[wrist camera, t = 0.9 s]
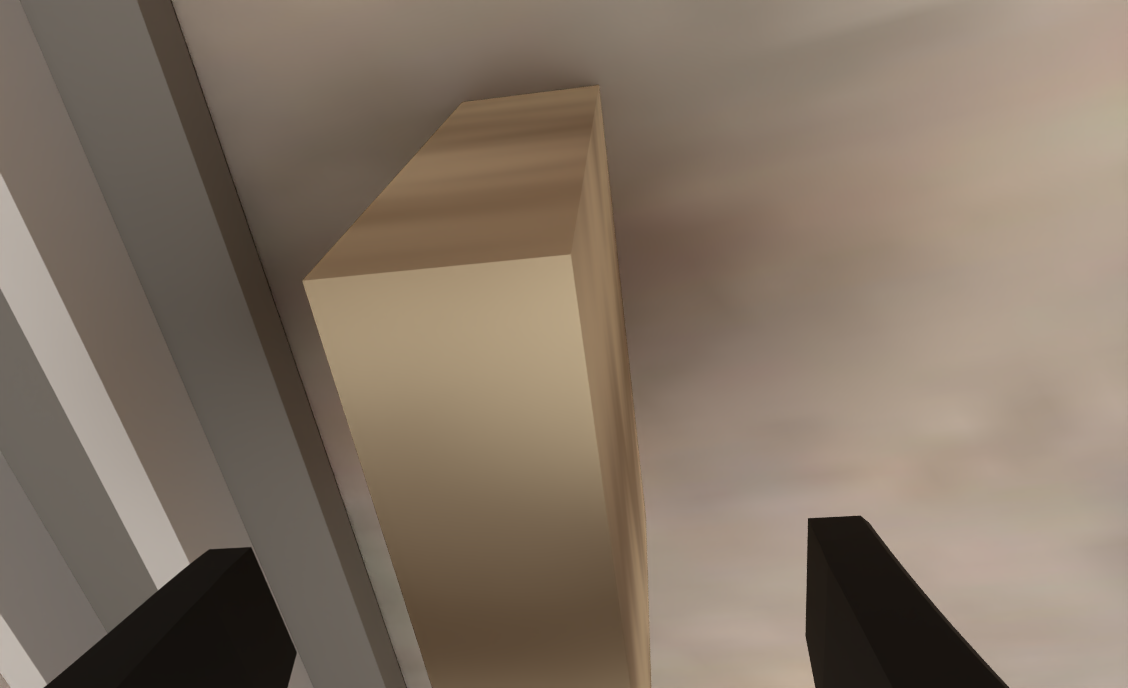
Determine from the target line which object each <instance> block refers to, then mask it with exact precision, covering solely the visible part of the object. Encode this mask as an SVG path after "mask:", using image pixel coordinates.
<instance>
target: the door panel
mask: <svg viewBox="0 0 1128 688" xmlns="http://www.w3.org/2000/svg"><path fill="white" fill-rule="evenodd" d="M302 282H303V285H304V288H305V291H306V294H307V297H308V300H309V304H310V307H311V310H312V313H313V316H314V319H315V322H316V326H317V329H318V332H319V335H320V338H321V341H322V344H323V347H324V351H325V354H326V357H327V360H328V363H329V366H330V369H331V373H332V376H333V379H334V382H335V385H336V388H337V391H338V394H339V398H340V401H341V404H342V407H343V410H344V413H345V416H346V420H347V423H348V426H349V429H350V432H351V435H352V438H353V441H354V445H355V448H356V451H357V454H358V457H359V460H360V463H361V466H362V470H363V473H364V476H365V479H366V482H367V485H368V488H369V492H370V495H371V498H372V501H373V504H374V507H375V510H376V513H377V517H378V520H379V523H380V526H381V529H382V532H383V535H384V539H385V542H386V545H387V548H388V551H389V554H390V557H391V560H392V564H393V567H394V570H395V573H396V576H397V579H398V582H399V586H400V589H401V592H402V595H403V598H404V601H405V604H406V607H407V611H408V614H409V617H410V620H411V623H412V626H413V629H414V633H415V636H416V639H417V642H418V645H419V648H420V651H421V654H422V658H423V661H424V664H425V667H426V670H427V673H428V676H429V680H430V683H431V686H432V688H651V664H650V633H649V601H648V570H647V538H646V514H645V505H644V496H643V486H642V477H641V468H640V459H639V449H638V440H637V431H636V422H635V412H634V403H633V394H632V385H631V375H630V366H629V357H628V348H627V338H626V329H625V320H624V311H623V301H622V292H621V283H620V274H619V264H618V255H617V246H616V237H615V227H614V218H613V209H612V200H611V190H610V181H609V172H608V163H607V153H606V144H605V135H604V126H603V116H602V107H601V98H600V89H599V85H595V86H587V87H579V88H571V89H563V90H555V91H547V92H539V93H531V94H523V95H515V96H507V97H499V98H491V99H483V100H475V101H467V102H462V103H461V104H460V105H459V106H458V108H457V109H456V110H455V111H454V112H453V113H452V114H451V115H450V116H449V118H448V119H447V120H446V121H445V122H444V123H443V124H442V125H441V127H440V128H439V129H438V130H437V131H436V132H435V133H434V134H433V135H432V137H431V138H430V139H429V140H428V141H427V142H426V143H425V144H424V145H423V147H422V148H421V149H420V150H419V151H418V152H417V153H416V154H415V156H414V157H413V158H412V159H411V160H410V161H409V162H408V163H407V164H406V166H405V167H404V168H403V169H402V170H401V171H400V172H399V173H398V174H397V176H396V177H395V178H394V179H393V180H392V181H391V182H390V183H389V185H388V186H387V187H386V188H385V189H384V190H383V191H382V192H381V193H380V195H379V196H378V197H377V198H376V199H375V200H374V201H373V202H372V204H371V205H370V206H369V207H368V208H367V209H366V210H365V211H364V212H363V214H362V215H361V216H360V217H359V218H358V219H357V220H356V221H355V222H354V224H353V225H352V226H351V227H350V228H349V229H348V230H347V231H346V233H345V234H344V235H343V236H342V237H341V238H340V239H339V240H338V241H337V243H336V244H335V245H334V246H333V247H332V248H331V249H330V250H329V251H328V253H327V254H326V255H325V256H324V257H323V258H322V259H321V260H320V262H319V263H318V264H317V265H316V266H315V267H314V268H313V269H312V270H311V272H310V273H309V274H308V275H307V276H306V277H305V278H304V279H303V281H302Z"/></svg>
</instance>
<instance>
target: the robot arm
mask: <svg viewBox="0 0 1128 688" xmlns="http://www.w3.org/2000/svg"><path fill="white" fill-rule="evenodd" d="M806 641H807V646H808V651H809V656H810V662H811V667H812V672H813V677H814V683H815V688H1009V687H1008V686H1007V685H1006V684H1005V683H1004V682H1003V680H1002V679H1001V678H1000V677H999V676H998V675H997V674H996V673H995V672H994V671H993V670H992V669H991V668H990V666H989V665H988V664H987V663H986V662H985V661H984V660H983V659H982V658H981V657H980V655H979V654H978V653H977V652H976V651H975V650H974V649H973V648H972V647H971V646H970V644H969V643H968V642H967V641H966V640H965V639H964V638H963V637H962V636H961V634H960V633H959V632H958V631H957V630H956V629H955V628H954V627H953V626H952V624H951V623H950V622H949V621H948V620H947V619H946V618H945V616H944V615H943V614H942V613H941V612H940V611H939V609H938V608H937V607H936V606H935V605H934V604H933V602H932V601H931V600H930V599H929V598H928V596H927V595H926V594H925V593H924V592H923V590H922V589H921V588H920V587H919V586H918V584H917V583H916V582H915V581H914V580H913V578H912V577H911V576H910V575H909V574H908V572H907V571H906V570H905V569H904V567H903V566H902V565H901V564H900V562H899V561H898V560H897V559H896V557H895V556H894V555H893V554H892V552H891V551H890V550H889V548H888V547H887V546H886V544H885V543H884V542H883V541H882V539H881V538H880V537H879V535H878V534H877V533H876V531H875V530H874V529H873V527H872V526H871V525H870V523H869V522H867V521H866V520H865V519H864V518H863V517H861V516H845V517H825V518H808V546H807V594H806ZM296 655H297V651H296V649H295V647H294V644H293V642H292V640H291V637H290V635H289V633H288V630H287V628H286V626H285V623H284V621H283V619H282V617H281V614H280V612H279V610H278V607H277V605H276V603H275V600H274V598H273V596H272V594H271V591H270V589H269V587H268V584H267V582H266V580H265V577H264V575H263V573H262V570H261V568H260V566H259V564H258V561H257V559H256V557H255V554H254V552H253V550H252V547H241V548H222V549H209V550H207V551H206V552H205V553H203V554H202V555H201V556H199V557H198V558H197V559H196V560H194V561H193V562H192V563H190V564H189V565H188V566H187V567H186V568H184V569H183V570H182V571H181V572H179V573H178V574H177V575H176V576H175V577H173V578H172V579H171V580H170V581H169V582H167V583H166V584H165V585H164V586H163V587H162V588H160V589H159V590H158V591H157V592H156V593H154V594H153V595H152V596H151V597H150V598H149V599H147V600H146V601H145V602H144V603H143V604H142V605H140V606H139V607H138V608H137V609H136V610H135V611H133V612H132V613H131V614H130V615H129V616H128V617H126V618H125V619H124V620H123V621H122V622H121V623H119V624H118V625H117V626H116V627H115V628H114V629H112V630H111V631H110V632H109V633H108V634H107V635H105V636H104V637H103V638H102V639H101V640H100V641H98V642H97V643H96V644H95V645H94V646H92V647H91V648H90V649H89V650H88V651H87V652H85V653H84V654H83V655H82V656H81V657H79V658H78V659H77V660H76V661H75V662H74V663H72V664H71V665H70V666H69V667H68V668H67V669H65V670H64V671H63V672H62V673H61V674H59V675H58V676H57V677H56V678H55V679H54V680H52V681H51V682H50V683H49V684H47V685H46V686H45V687H44V688H288V684H289V681H290V677H291V673H292V670H293V666H294V662H295V658H296Z"/></svg>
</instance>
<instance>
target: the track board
mask: <svg viewBox="0 0 1128 688" xmlns="http://www.w3.org/2000/svg"><path fill="white" fill-rule="evenodd" d="M241 547H252V550H253V552H254V554H255V557H256V559H257V561H258V564H259V566H260V568H261V570H262V573H263V575H264V577H265V580H266V582H267V584H268V587H269V589H270V591H271V594H272V596H273V598H274V600H275V603H276V605H277V607H278V610H279V612H280V614H281V617H282V619H283V621H284V623H285V626H286V628H287V630H288V633H289V635H290V637H291V640H292V642H293V644H294V647H295V649H296V651H297V655H296V658H295V662H294V666H293V670H292V673H291V677H290V681H289V684H288V688H406V685H405V683H404V680H403V677H402V674H401V671H400V668H399V665H398V662H397V659H396V656H395V653H394V650H393V648H392V645H391V642H390V639H389V636H388V633H387V630H386V627H385V624H384V621H383V618H382V615H381V613H380V610H379V607H378V604H377V601H376V598H375V595H374V592H373V589H372V586H371V583H370V581H369V578H368V575H367V572H366V569H365V566H364V563H363V560H362V557H361V554H360V551H359V548H358V546H357V543H356V540H355V537H354V534H353V531H352V528H351V525H350V522H349V519H348V516H347V513H346V511H345V508H344V505H343V502H342V499H341V496H340V493H339V490H338V487H337V484H336V481H335V478H334V476H333V473H332V470H331V467H330V464H329V461H328V458H327V455H326V452H325V449H324V446H323V443H322V441H321V438H320V435H319V432H318V429H317V426H316V423H315V420H314V417H313V414H312V411H311V409H310V406H309V403H308V400H307V397H306V394H305V391H304V388H303V385H302V382H301V379H300V376H299V374H298V371H297V368H296V365H295V362H294V359H293V356H292V353H291V350H290V347H289V344H288V341H287V339H286V336H285V333H284V330H283V327H282V324H281V321H280V318H279V315H278V312H277V309H276V306H275V304H274V301H273V298H272V295H271V292H270V289H269V286H268V283H267V280H266V277H265V274H264V271H263V269H262V266H261V263H260V260H259V257H258V254H257V251H256V248H255V245H254V242H253V239H252V237H251V234H250V231H249V228H248V225H247V222H246V219H245V216H244V213H243V210H242V207H241V204H240V202H239V199H238V196H237V193H236V190H235V187H234V184H233V181H232V178H231V175H230V172H229V169H228V167H227V164H226V161H225V158H224V155H223V152H222V149H221V146H220V143H219V140H218V137H217V134H216V132H215V129H214V126H213V123H212V120H211V117H210V114H209V111H208V108H207V105H206V102H205V99H204V97H203V94H202V91H201V88H200V85H199V82H198V79H197V76H196V73H195V70H194V67H193V64H192V62H191V59H190V56H189V53H188V50H187V47H186V44H185V41H184V38H183V35H182V32H181V30H180V27H179V24H178V21H177V18H176V15H175V12H174V9H173V6H172V3H171V0H0V673H1V674H2V676H3V677H4V679H5V680H6V682H7V683H8V684H9V686H10V687H11V688H44V687H45V686H46V685H47V684H49V683H50V682H51V681H52V680H54V679H55V678H56V677H57V676H58V675H59V674H61V673H62V672H63V671H64V670H65V669H67V668H68V667H69V666H70V665H71V664H72V663H74V662H75V661H76V660H77V659H78V658H79V657H81V656H82V655H83V654H84V653H85V652H87V651H88V650H89V649H90V648H91V647H92V646H94V645H95V644H96V643H97V642H98V641H100V640H101V639H102V638H103V637H104V636H105V635H107V634H108V633H109V632H110V631H111V630H112V629H114V628H115V627H116V626H117V625H118V624H119V623H121V622H122V621H123V620H124V619H125V618H126V617H128V616H129V615H130V614H131V613H132V612H133V611H135V610H136V609H137V608H138V607H139V606H140V605H142V604H143V603H144V602H145V601H146V600H147V599H149V598H150V597H151V596H152V595H153V594H154V593H156V592H157V591H158V590H159V589H160V588H162V587H163V586H164V585H165V584H166V583H167V582H169V581H170V580H171V579H172V578H173V577H175V576H176V575H177V574H178V573H179V572H181V571H182V570H183V569H184V568H186V567H187V566H188V565H189V564H190V563H192V562H193V561H194V560H196V559H197V558H198V557H199V556H201V555H202V554H203V553H205V552H206V551H207V550H209V549H222V548H241Z"/></svg>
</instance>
